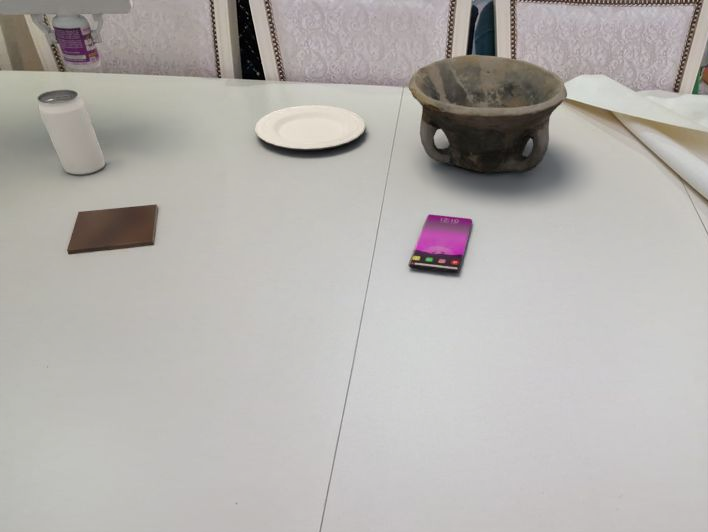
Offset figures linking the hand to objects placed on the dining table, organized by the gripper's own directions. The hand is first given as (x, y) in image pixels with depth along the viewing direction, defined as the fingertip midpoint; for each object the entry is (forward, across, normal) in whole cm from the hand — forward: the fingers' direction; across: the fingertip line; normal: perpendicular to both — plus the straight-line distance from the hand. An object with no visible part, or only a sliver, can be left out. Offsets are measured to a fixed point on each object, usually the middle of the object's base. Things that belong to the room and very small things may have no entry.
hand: (77, 42), depth 103 cm
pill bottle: (+4, 0, 0) cm, 4 cm away
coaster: (+16, +4, -35) cm, 39 cm away
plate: (+16, +36, -6) cm, 40 cm away
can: (+16, -2, -12) cm, 21 cm away
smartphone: (+16, +50, -50) cm, 73 cm away
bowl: (+15, +66, -24) cm, 71 cm away
